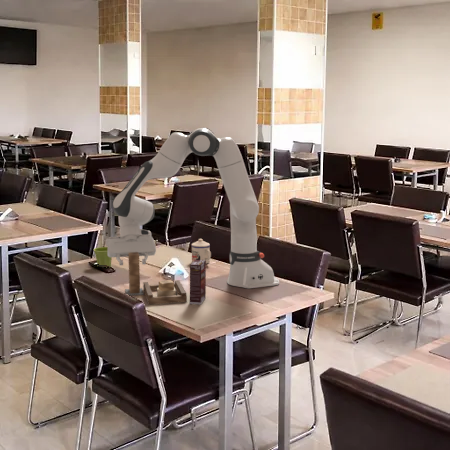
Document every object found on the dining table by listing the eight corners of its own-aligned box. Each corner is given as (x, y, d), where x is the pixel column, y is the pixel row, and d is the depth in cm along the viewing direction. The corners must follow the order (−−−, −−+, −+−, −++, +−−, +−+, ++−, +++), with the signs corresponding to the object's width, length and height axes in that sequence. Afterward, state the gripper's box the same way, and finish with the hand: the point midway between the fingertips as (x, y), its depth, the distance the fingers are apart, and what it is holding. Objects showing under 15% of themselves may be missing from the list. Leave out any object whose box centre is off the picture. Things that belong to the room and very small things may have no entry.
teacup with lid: (187, 262, 323) (187, 238, 321) (202, 259, 329) (202, 236, 326) (202, 266, 314) (202, 242, 312) (217, 263, 320) (217, 240, 317)
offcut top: (170, 287, 267) (170, 279, 266) (174, 289, 264) (173, 282, 263) (158, 288, 265) (158, 281, 264) (162, 291, 261) (162, 283, 261)
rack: (179, 287, 279) (179, 279, 279) (186, 302, 260) (186, 293, 259) (143, 289, 276) (143, 281, 275) (148, 304, 257) (148, 295, 256)
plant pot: (90, 268, 310) (90, 250, 308) (99, 263, 319) (98, 246, 317) (109, 270, 308) (108, 251, 306) (117, 265, 317) (116, 247, 315)
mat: (142, 289, 277) (142, 288, 277) (143, 294, 269) (143, 293, 269) (125, 290, 275) (125, 289, 275) (126, 295, 268) (126, 294, 268)
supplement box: (201, 305, 256) (201, 265, 253) (189, 304, 257) (189, 264, 254) (206, 298, 265) (206, 259, 262) (194, 297, 266) (194, 259, 263)
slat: (138, 289, 275) (138, 252, 272) (139, 292, 270) (139, 254, 267) (129, 290, 274) (128, 252, 271) (130, 293, 270) (129, 255, 267)
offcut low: (174, 296, 268) (174, 287, 267) (175, 300, 263) (175, 290, 262) (157, 297, 267) (157, 287, 266) (158, 301, 262) (158, 291, 261)
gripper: (105, 233, 277) (107, 261, 269) (154, 231, 281) (157, 259, 274) (105, 241, 282) (107, 269, 274) (153, 239, 286) (156, 266, 279)
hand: (132, 264), depth 274 cm, fingers open, 8 cm apart
